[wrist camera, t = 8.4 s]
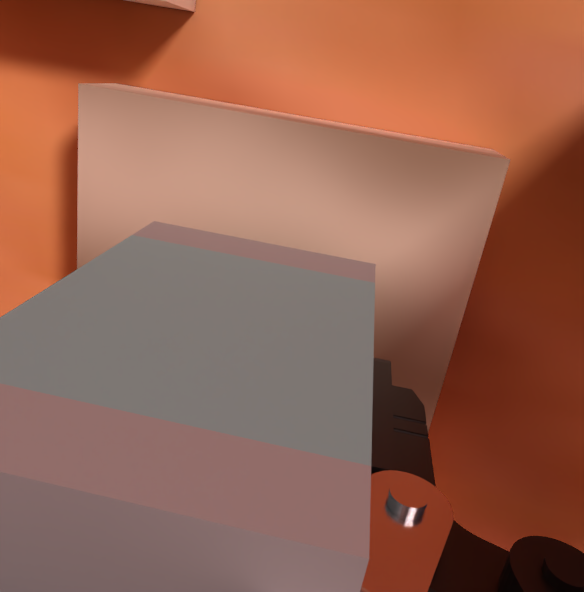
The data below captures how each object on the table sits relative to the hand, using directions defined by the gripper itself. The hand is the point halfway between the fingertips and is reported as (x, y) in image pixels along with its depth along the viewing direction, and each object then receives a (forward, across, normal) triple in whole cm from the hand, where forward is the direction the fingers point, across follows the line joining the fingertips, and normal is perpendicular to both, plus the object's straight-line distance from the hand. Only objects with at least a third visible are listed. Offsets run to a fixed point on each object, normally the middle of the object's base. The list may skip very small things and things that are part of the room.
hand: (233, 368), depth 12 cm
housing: (+1, 0, 0) cm, 1 cm away
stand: (+5, 0, 0) cm, 5 cm away
